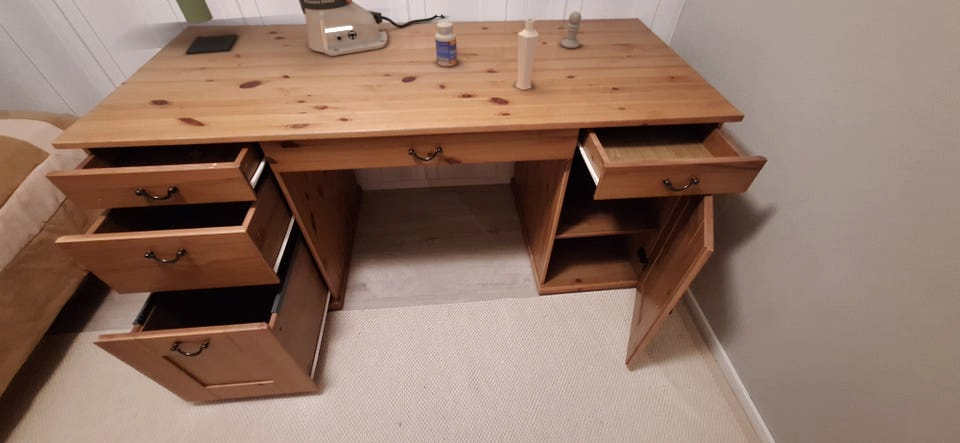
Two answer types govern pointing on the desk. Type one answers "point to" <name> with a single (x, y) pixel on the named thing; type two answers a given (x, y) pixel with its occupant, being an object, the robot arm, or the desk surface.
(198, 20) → the bottle
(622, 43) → the desk surface
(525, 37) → the perfume bottle
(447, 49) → the pill bottle
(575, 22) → the chess piece
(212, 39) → the coaster
